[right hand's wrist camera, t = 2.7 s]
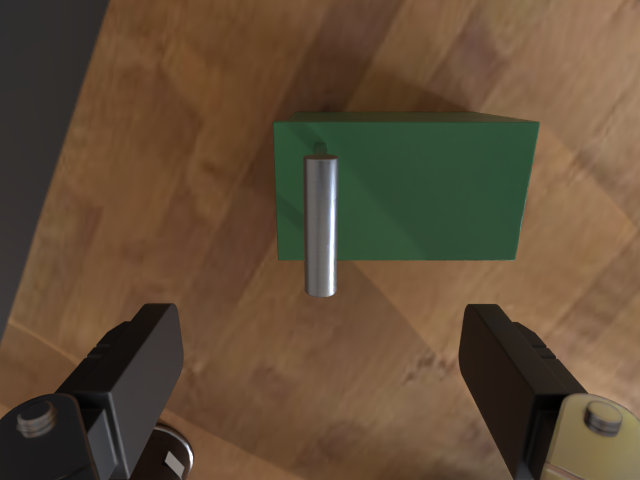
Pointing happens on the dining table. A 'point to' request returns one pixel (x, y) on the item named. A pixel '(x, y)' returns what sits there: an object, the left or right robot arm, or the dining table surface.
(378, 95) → the dining table surface
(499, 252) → the lid
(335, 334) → the dining table surface
